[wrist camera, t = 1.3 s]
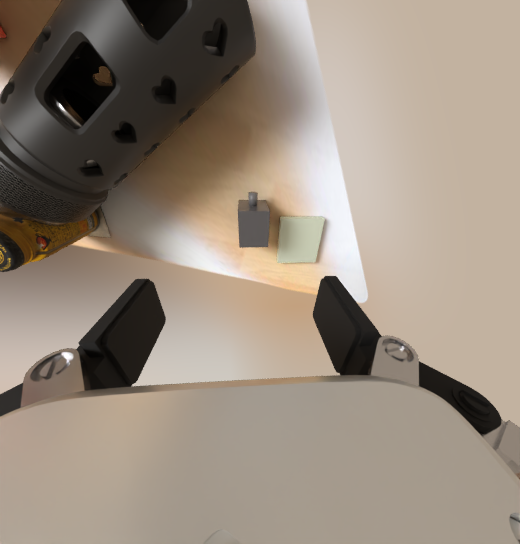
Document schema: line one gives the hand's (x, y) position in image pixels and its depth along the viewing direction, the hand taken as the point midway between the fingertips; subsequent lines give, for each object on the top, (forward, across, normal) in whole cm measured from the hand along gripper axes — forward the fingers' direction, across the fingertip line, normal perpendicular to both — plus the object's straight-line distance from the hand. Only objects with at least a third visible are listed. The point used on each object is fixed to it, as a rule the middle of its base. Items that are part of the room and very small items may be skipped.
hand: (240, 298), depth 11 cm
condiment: (+21, +24, 0) cm, 32 cm away
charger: (+21, -1, +1) cm, 21 cm away
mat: (+22, -9, +5) cm, 24 cm away
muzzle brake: (+21, +13, -11) cm, 27 cm away
